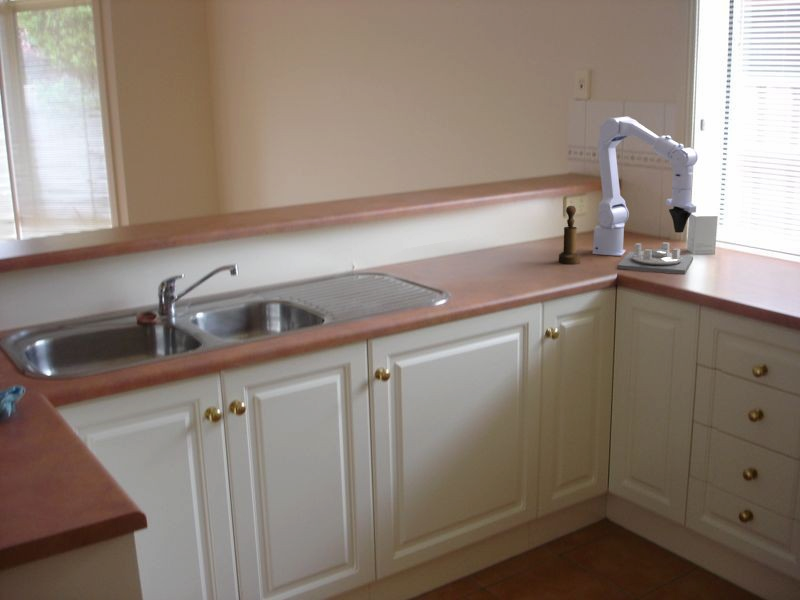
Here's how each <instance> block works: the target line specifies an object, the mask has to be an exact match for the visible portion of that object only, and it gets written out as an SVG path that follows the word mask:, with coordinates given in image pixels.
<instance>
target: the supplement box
mask: <svg viewBox="0 0 800 600" xmlns="http://www.w3.org/2000/svg"><path fill="white" fill-rule="evenodd" d="M718 217H719V216H718V215H716V214H715V213H713V212H711V211H709V212H708V211H704V212H702V211H701V212H697V211H696V213H691V215H690V216H689V218H688V231H687V245H686V246H687V247H686V249H687V251H688V252H690V253H692V255H714V254H716V243H717V233H718V232H717V231H718V221H719V219H718Z"/></svg>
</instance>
